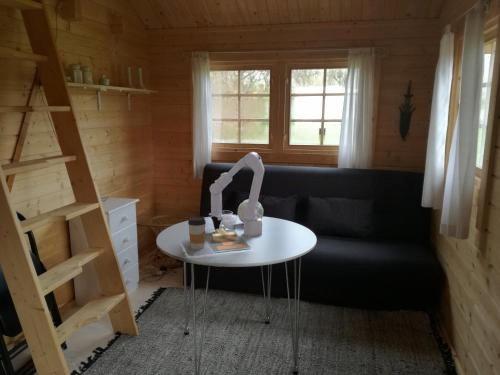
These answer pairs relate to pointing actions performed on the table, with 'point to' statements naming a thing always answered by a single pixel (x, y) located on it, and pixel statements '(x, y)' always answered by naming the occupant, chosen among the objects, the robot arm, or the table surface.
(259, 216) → the puzzle ball
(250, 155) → the robot arm
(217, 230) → the t block
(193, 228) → the coffee cup
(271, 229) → the table surface
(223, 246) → the slate board
